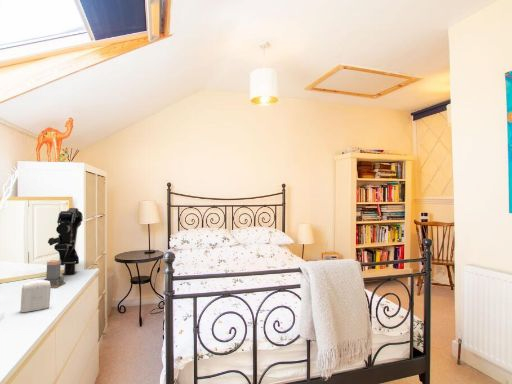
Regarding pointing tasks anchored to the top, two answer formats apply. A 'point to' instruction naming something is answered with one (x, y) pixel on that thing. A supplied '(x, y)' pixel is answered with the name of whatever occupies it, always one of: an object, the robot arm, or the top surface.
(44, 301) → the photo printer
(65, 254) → the robot arm
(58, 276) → the connector
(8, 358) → the top surface
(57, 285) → the holder
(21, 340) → the top surface
